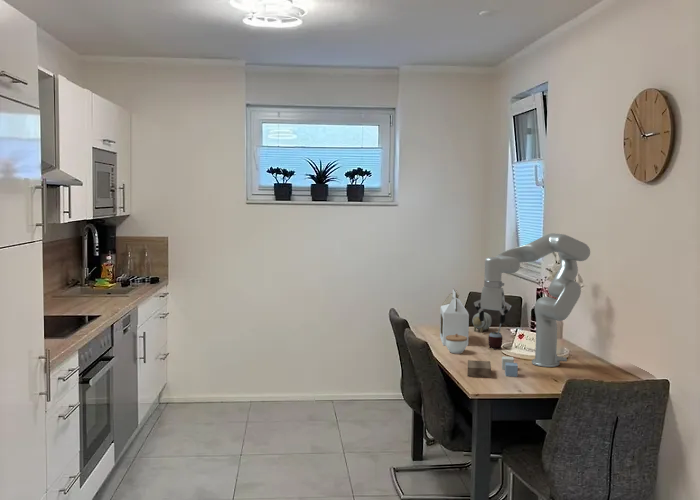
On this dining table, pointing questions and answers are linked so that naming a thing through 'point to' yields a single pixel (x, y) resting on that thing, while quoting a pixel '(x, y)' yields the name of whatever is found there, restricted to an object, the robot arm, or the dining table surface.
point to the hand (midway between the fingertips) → (491, 322)
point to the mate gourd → (495, 339)
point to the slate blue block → (511, 369)
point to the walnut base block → (479, 369)
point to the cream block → (506, 359)
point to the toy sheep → (482, 322)
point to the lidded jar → (456, 343)
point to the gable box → (453, 318)
